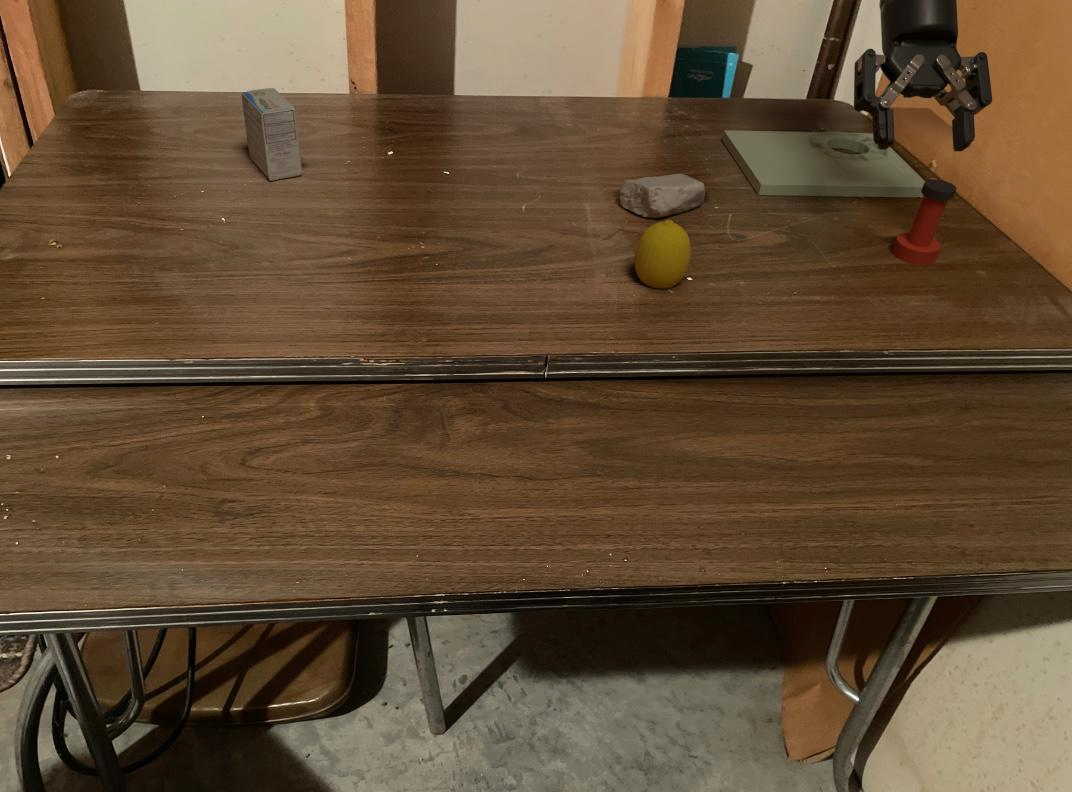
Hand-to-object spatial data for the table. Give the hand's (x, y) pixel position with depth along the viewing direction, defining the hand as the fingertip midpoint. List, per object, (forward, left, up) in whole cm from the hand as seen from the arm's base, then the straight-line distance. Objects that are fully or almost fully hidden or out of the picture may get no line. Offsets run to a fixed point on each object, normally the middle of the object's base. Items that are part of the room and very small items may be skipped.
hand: (924, 147), depth 99 cm
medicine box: (+73, -19, -12) cm, 76 cm away
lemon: (+30, +11, -12) cm, 34 cm away
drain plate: (+1, -22, -11) cm, 24 cm away
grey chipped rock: (+25, -9, -12) cm, 29 cm away
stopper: (0, +5, -11) cm, 13 cm away
